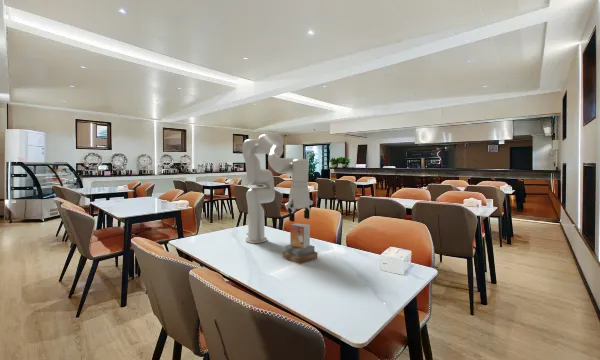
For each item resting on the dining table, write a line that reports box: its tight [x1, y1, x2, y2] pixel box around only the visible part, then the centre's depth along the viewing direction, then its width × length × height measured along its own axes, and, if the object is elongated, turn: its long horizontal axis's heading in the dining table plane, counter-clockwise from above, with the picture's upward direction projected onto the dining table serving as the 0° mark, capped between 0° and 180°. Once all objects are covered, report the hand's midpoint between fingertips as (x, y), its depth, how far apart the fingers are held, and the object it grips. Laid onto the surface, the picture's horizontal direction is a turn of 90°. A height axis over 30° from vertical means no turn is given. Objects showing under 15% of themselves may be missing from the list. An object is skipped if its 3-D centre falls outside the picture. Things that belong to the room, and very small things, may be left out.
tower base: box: [282, 244, 318, 265], centre depth 143 cm, size 12×12×6 cm
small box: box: [289, 222, 311, 248], centre depth 143 cm, size 8×6×10 cm
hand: (299, 219), depth 142 cm, fingers open, 9 cm apart
